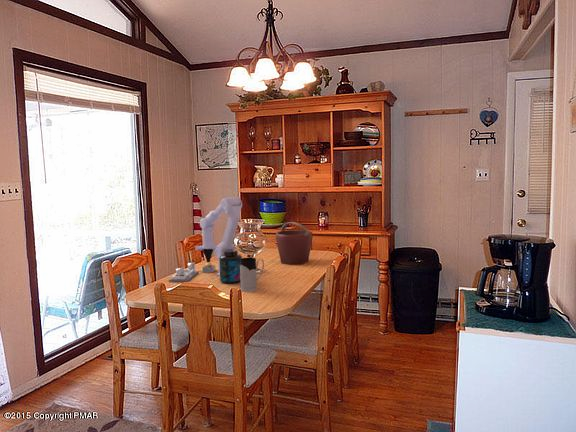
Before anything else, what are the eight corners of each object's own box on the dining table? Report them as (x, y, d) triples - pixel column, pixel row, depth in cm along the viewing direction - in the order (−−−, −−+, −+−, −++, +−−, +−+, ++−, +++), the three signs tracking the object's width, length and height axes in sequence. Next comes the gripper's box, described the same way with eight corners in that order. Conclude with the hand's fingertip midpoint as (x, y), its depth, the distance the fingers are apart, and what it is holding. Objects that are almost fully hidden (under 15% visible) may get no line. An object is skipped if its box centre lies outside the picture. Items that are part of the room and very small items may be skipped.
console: (212, 272, 265) (212, 267, 264) (202, 272, 265) (202, 267, 265) (215, 270, 271) (215, 265, 270) (205, 270, 271) (205, 265, 271)
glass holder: (236, 289, 225) (235, 259, 223) (258, 284, 235) (257, 254, 233) (247, 292, 219) (246, 261, 217) (270, 287, 229) (269, 257, 227)
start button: (210, 270, 266) (210, 264, 266) (205, 270, 267) (205, 264, 266) (212, 268, 269) (211, 263, 269) (207, 268, 270) (206, 263, 269)
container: (221, 278, 248) (220, 249, 247) (243, 278, 248) (242, 248, 247) (218, 284, 237) (217, 253, 235) (242, 283, 237) (240, 252, 235)
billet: (196, 271, 267) (195, 263, 267) (189, 272, 265) (189, 264, 265) (193, 270, 271) (193, 262, 270) (187, 271, 269) (186, 263, 268)
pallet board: (187, 281, 244) (187, 276, 243) (168, 281, 245) (168, 276, 244) (198, 273, 264) (197, 268, 263) (180, 273, 264) (180, 268, 264)
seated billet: (185, 277, 247) (184, 268, 247) (178, 279, 245) (177, 269, 245) (182, 276, 251) (182, 267, 250) (175, 277, 249) (175, 268, 248)
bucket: (318, 264, 280) (317, 222, 277) (284, 267, 272) (282, 225, 269) (302, 257, 303) (301, 219, 300) (270, 260, 294) (268, 221, 292)
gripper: (221, 237, 269) (222, 260, 271) (197, 237, 271) (198, 260, 272) (218, 239, 262) (219, 263, 264) (193, 239, 264) (194, 263, 265)
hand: (208, 262), depth 267 cm, fingers closed
